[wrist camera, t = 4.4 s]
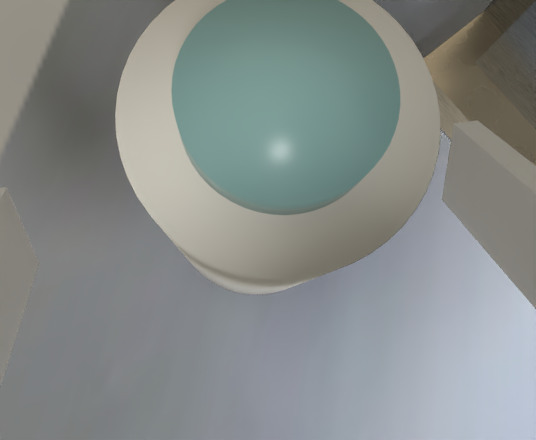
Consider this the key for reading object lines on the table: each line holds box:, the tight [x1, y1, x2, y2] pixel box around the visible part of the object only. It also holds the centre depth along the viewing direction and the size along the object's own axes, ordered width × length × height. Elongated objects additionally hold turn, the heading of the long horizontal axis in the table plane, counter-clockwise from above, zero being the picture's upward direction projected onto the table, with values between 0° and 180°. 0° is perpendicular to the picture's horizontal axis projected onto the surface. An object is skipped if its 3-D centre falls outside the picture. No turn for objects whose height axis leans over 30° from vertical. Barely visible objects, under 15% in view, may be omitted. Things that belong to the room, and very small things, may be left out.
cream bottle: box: [115, 0, 441, 295], centre depth 16 cm, size 7×7×12 cm
